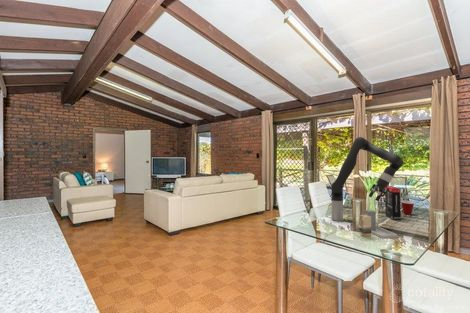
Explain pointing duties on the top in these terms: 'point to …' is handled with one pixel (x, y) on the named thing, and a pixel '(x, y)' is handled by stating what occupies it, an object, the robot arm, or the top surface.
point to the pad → (366, 237)
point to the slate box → (372, 218)
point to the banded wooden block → (365, 226)
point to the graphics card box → (393, 203)
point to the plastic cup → (407, 207)
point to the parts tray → (382, 233)
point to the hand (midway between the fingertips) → (373, 198)
